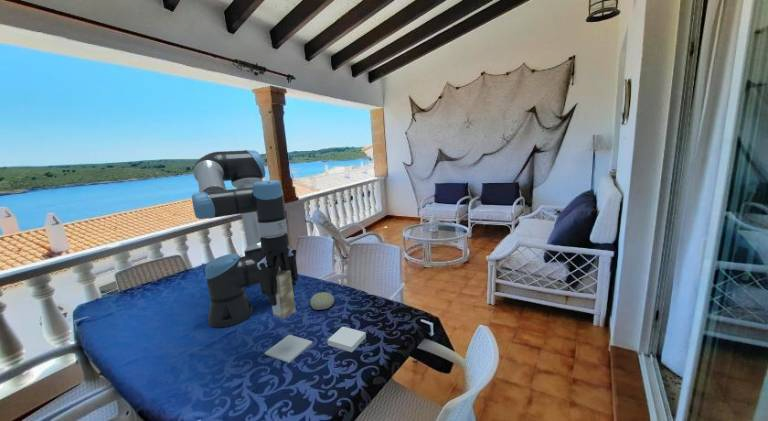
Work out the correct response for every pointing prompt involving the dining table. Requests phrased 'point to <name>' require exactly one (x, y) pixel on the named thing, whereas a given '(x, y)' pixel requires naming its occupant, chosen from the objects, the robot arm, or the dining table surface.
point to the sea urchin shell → (322, 301)
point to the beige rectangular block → (285, 293)
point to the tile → (346, 339)
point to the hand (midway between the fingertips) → (284, 309)
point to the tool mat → (288, 348)
